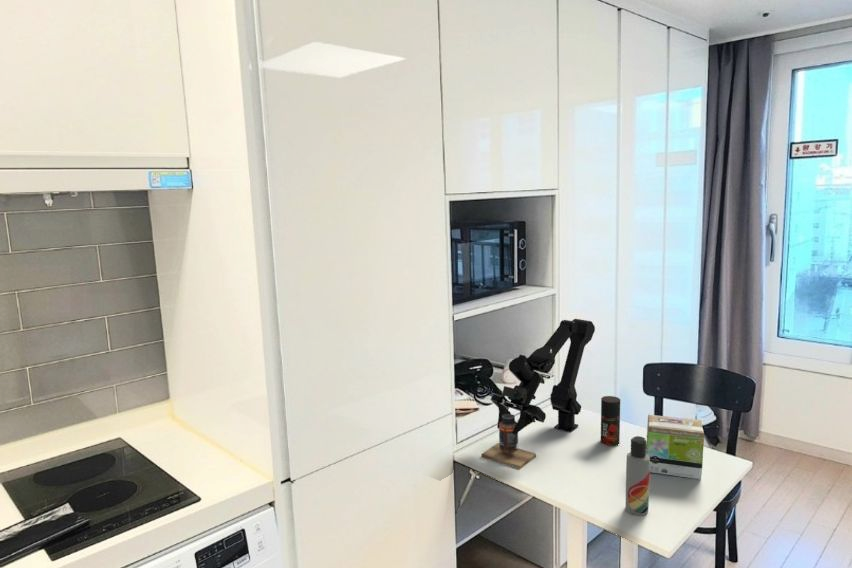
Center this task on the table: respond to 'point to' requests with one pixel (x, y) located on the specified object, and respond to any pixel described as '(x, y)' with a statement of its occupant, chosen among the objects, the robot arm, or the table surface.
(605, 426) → the deodorant
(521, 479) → the table surface
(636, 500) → the lotion bottle
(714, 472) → the table surface
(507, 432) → the supplement bottle
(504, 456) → the walnut board
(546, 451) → the table surface
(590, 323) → the robot arm
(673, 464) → the tea box
